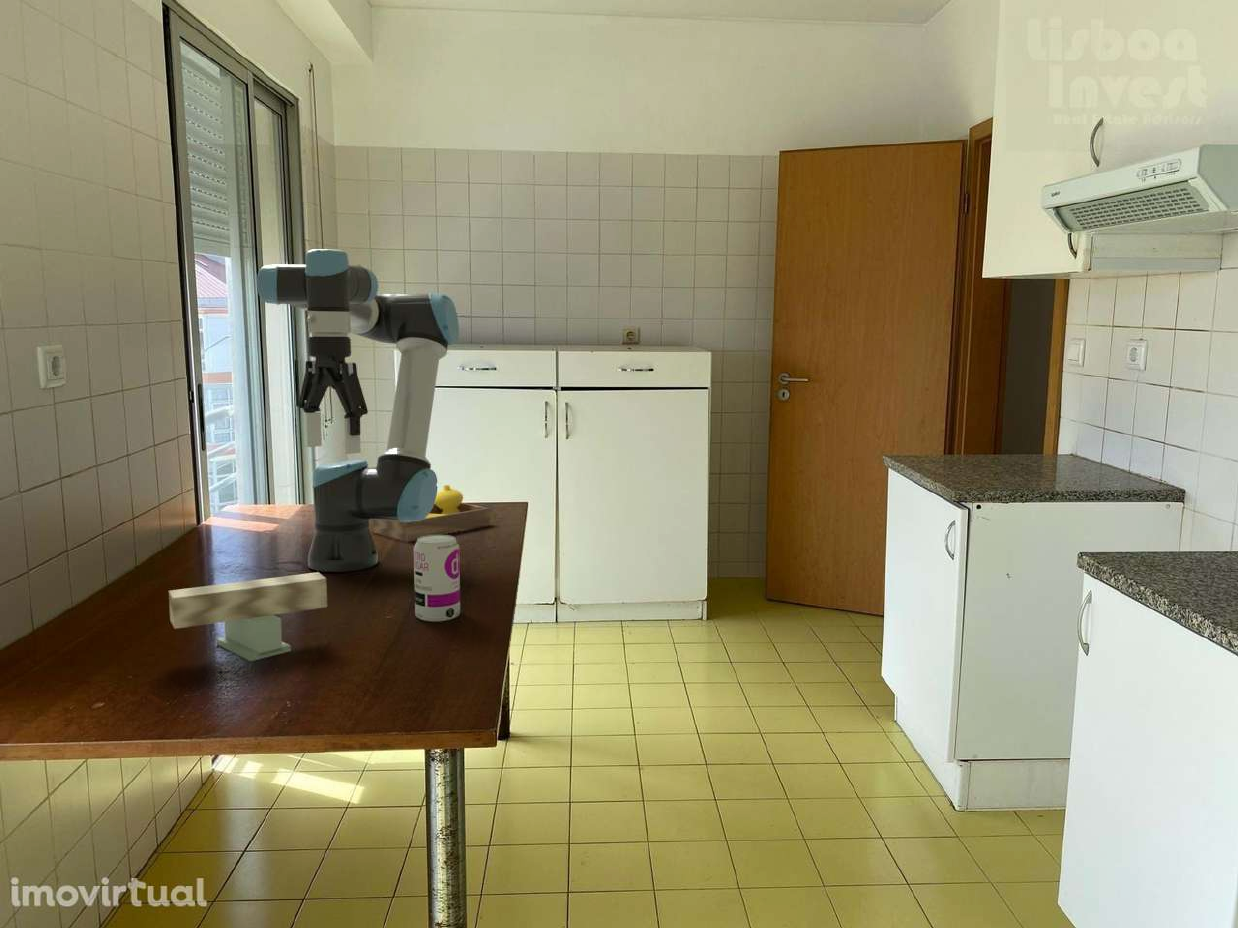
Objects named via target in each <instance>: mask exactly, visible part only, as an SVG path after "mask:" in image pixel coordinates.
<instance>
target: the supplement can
mask: <svg viewBox="0 0 1238 928" xmlns="http://www.w3.org/2000/svg"><path fill="white" fill-rule="evenodd" d="M413 569H414V570H413V573H414V574H413V579H414V581H413V582H414V607H415V608H414V615H415V617H416V618H418V619H419V620H422V621H425V622H444V621H449V620H453V619H455V618H457V617H458V616H459V615H460V614H461V589H460V588H461V584H460V583H461V579H460V577H461V574H460V573H461V572H460V545H459V543H458V541H457V539H456V537H455V536H453V535H450V534H445V535H428V536H422V537H420V538H418V539H417V540H416V542H415V545H414V546H413Z"/></svg>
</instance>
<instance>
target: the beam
mask: <svg viewBox="0 0 1238 928" xmlns="http://www.w3.org/2000/svg"><path fill="white" fill-rule="evenodd" d="M327 587H328V586H327V578H326V576H324V575H323V574H321V573H320V571H317V572H309V573H302V574H301V573H299V574H293V575H285V576H278V577H269V578H260V579H253V580H252V579H251V580H243V581H238V582H237V581H235V582H228V583H221V584H220V583H219V584H213V585H205V586H196V587H190V588H189V587H187V588H181V589H179V588H178V589H173V590H168V601H169V620H170V621H169V622H170V623H171V624H172V626H173V628H174V630H176V629H182V628H189V627H190V628H191V627H196V626H197V627H198V626H204V625H209V624H210V625H211V624H217V623H225V622H226V621H232V620H239V619H246V618H253V617H260V616H267V615H281V614H286V613H287V614H288V613H295V612H302V611H307V610H315V609H323V608H328V593H327V592H328V591H327Z"/></svg>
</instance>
